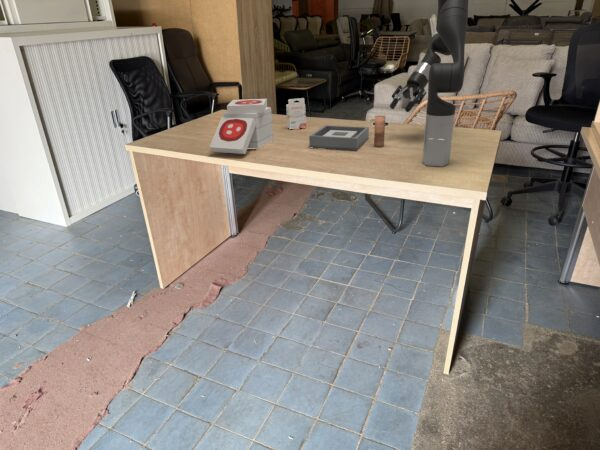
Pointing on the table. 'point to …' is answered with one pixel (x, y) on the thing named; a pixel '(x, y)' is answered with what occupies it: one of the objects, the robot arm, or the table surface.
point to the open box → (339, 137)
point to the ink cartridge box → (296, 113)
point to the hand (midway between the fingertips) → (398, 109)
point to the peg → (379, 131)
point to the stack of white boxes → (243, 127)
